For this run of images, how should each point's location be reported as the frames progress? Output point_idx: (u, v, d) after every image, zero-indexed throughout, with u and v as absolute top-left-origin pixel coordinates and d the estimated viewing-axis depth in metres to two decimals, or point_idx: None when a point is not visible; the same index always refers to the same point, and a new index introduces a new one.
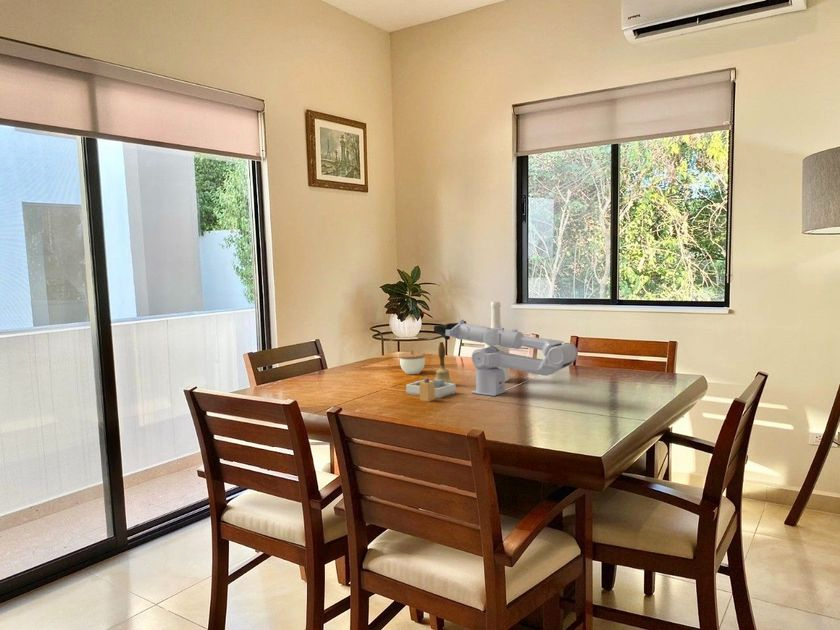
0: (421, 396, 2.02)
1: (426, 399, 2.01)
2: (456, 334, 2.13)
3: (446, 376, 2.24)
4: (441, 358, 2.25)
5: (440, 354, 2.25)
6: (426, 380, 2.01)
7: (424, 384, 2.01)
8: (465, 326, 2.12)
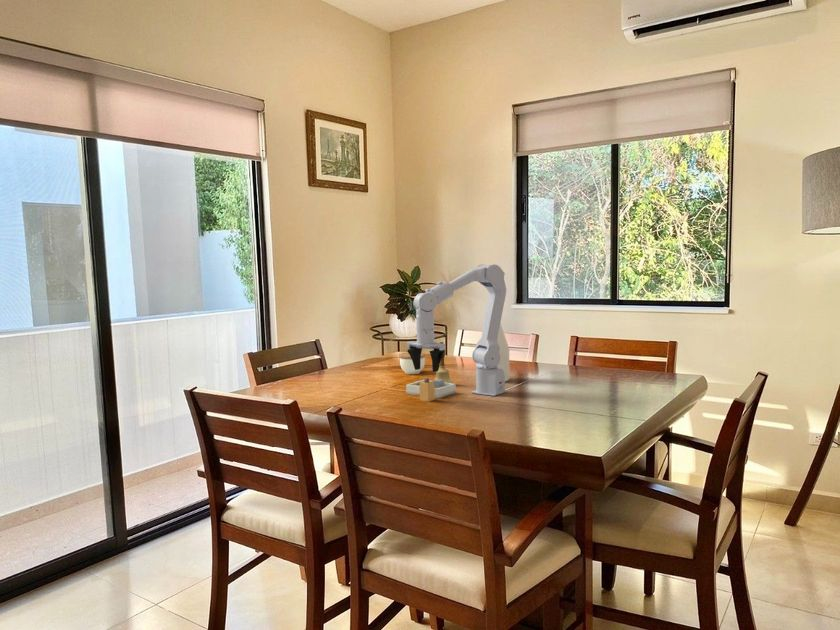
0: (421, 396, 2.02)
1: (426, 399, 2.01)
2: (434, 343, 2.00)
3: (446, 376, 2.24)
4: None
5: None
6: (426, 380, 2.01)
7: (424, 384, 2.01)
8: (425, 335, 1.98)
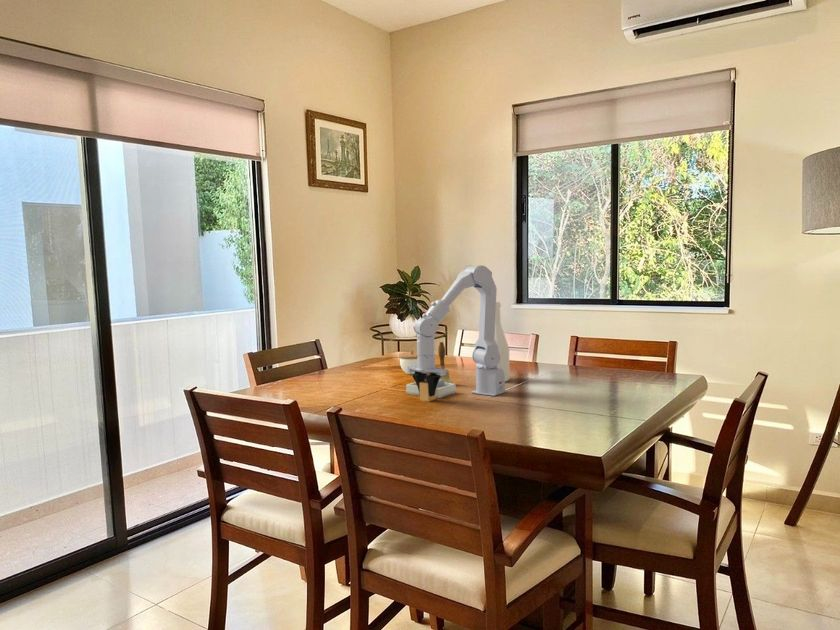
0: (421, 396, 2.02)
1: (426, 399, 2.01)
2: (435, 368, 2.01)
3: (446, 376, 2.24)
4: (441, 358, 2.25)
5: (440, 354, 2.25)
6: (426, 380, 2.01)
7: (424, 384, 2.01)
8: (425, 361, 1.99)
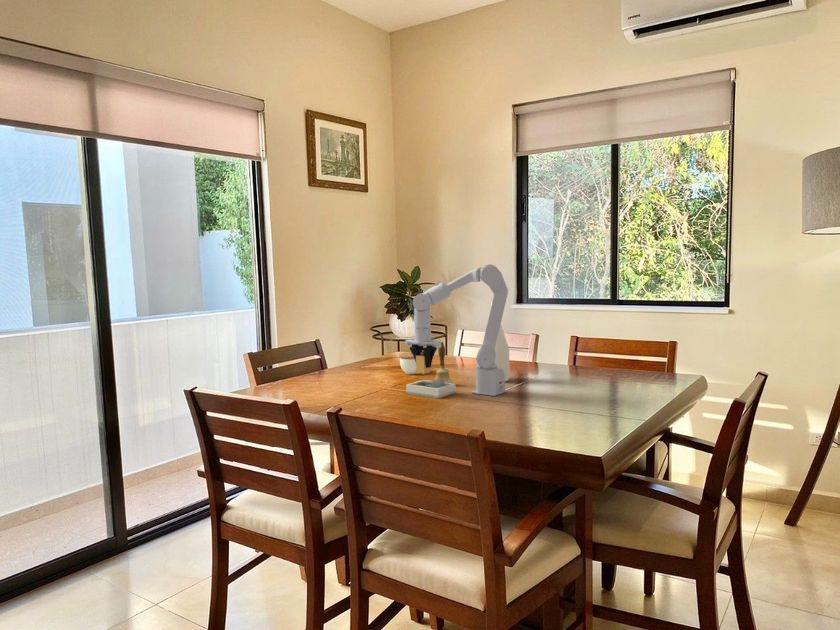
0: (418, 368, 2.12)
1: (422, 371, 2.11)
2: (431, 341, 2.11)
3: (446, 376, 2.24)
4: (441, 358, 2.25)
5: (440, 354, 2.25)
6: (422, 353, 2.12)
7: (420, 357, 2.11)
8: (422, 333, 2.09)
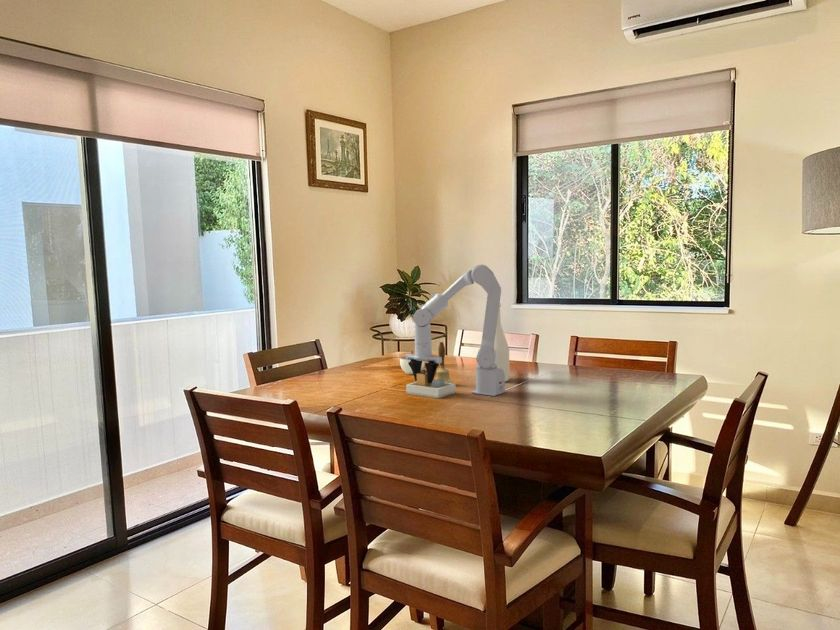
0: None
1: None
2: (431, 356, 2.12)
3: (446, 376, 2.24)
4: None
5: (440, 354, 2.25)
6: (423, 371, 2.13)
7: (421, 375, 2.12)
8: (422, 349, 2.10)
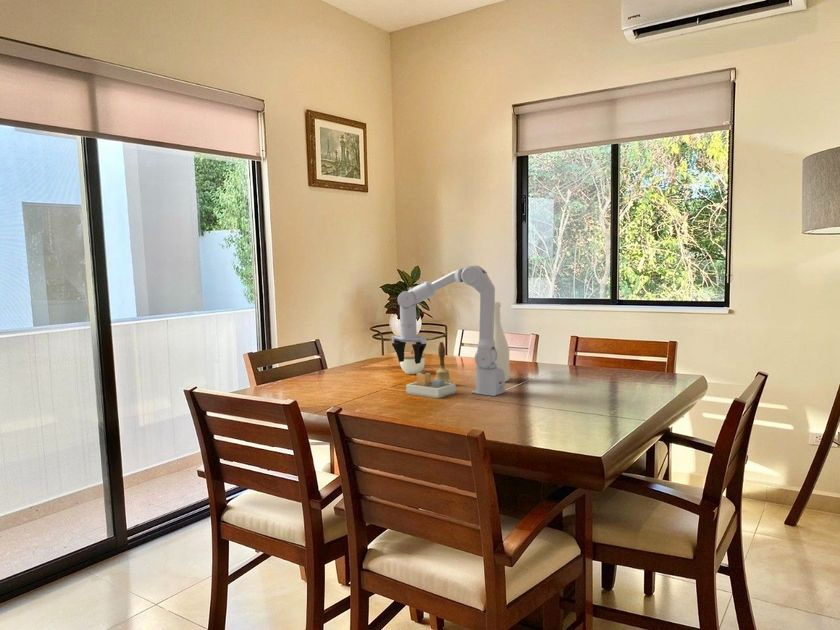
0: None
1: None
2: (416, 337, 2.17)
3: (446, 376, 2.24)
4: (441, 358, 2.25)
5: (440, 354, 2.25)
6: (423, 371, 2.13)
7: (421, 375, 2.12)
8: (408, 330, 2.15)
